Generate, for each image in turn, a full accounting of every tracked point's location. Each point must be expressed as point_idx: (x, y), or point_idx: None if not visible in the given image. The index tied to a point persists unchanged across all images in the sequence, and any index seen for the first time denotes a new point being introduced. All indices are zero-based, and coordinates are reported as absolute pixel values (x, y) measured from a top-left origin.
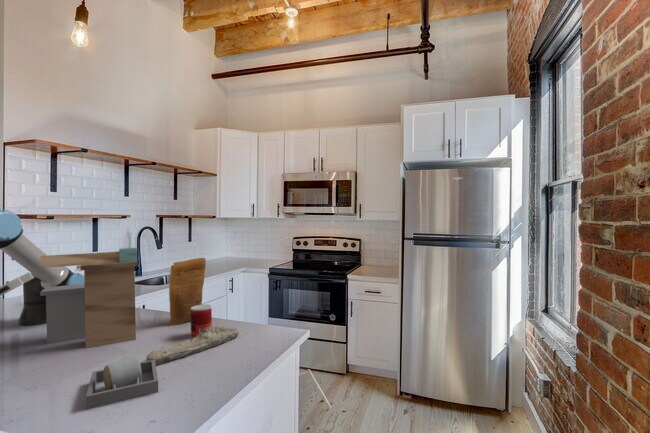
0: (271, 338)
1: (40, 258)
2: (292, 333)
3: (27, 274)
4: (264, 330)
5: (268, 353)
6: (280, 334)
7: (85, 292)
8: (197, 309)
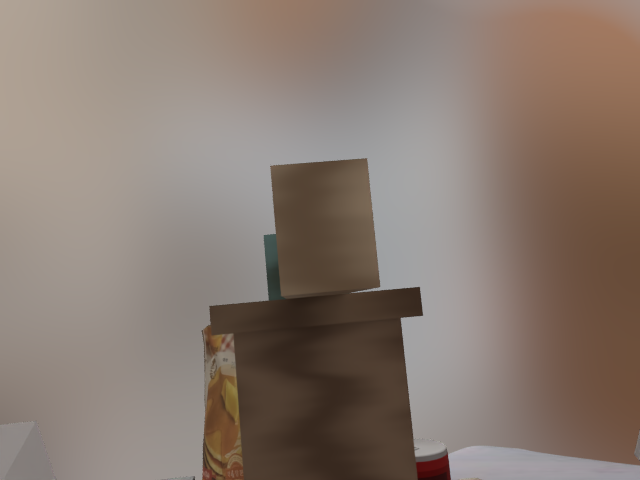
0: (510, 468)
1: (368, 180)
2: (485, 453)
3: (33, 466)
4: None
5: (609, 470)
6: (486, 461)
7: (416, 475)
8: (445, 448)
